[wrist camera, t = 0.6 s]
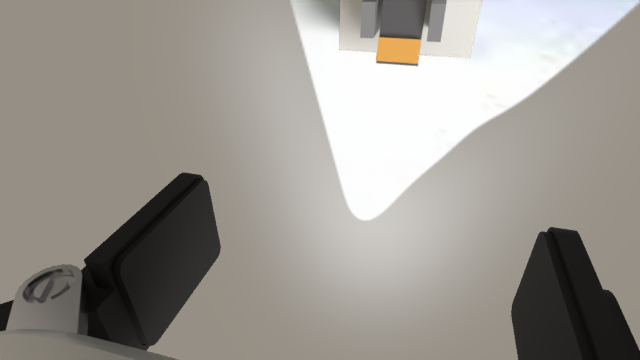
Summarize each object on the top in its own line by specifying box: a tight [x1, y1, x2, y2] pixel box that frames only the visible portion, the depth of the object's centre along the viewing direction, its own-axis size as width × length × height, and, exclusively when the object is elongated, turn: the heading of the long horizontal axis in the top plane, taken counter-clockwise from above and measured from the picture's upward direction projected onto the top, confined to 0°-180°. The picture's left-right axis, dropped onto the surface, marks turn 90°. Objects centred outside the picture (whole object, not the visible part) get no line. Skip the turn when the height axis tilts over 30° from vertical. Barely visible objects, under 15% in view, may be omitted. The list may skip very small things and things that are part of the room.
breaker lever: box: [376, 0, 427, 66], centre depth 21 cm, size 5×2×1 cm, turn 0°
